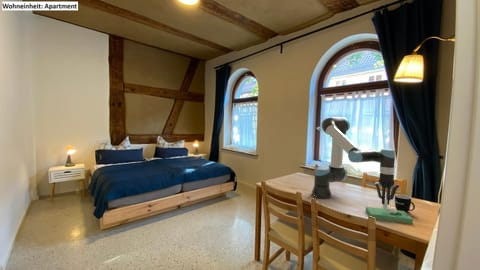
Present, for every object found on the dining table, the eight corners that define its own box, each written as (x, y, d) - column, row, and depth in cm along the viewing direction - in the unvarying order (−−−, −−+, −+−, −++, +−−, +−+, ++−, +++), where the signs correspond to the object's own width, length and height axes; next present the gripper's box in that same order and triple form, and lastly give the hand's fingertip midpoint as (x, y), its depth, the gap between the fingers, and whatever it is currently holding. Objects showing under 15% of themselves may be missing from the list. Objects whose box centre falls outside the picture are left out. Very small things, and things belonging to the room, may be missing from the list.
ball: (399, 213, 132) (391, 215, 133) (396, 211, 135) (390, 213, 137) (396, 207, 132) (389, 209, 134) (394, 205, 136) (387, 207, 137)
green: (370, 218, 134) (371, 214, 133) (365, 211, 145) (365, 206, 145) (412, 223, 127) (412, 219, 127) (403, 215, 138) (404, 211, 138)
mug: (390, 209, 148) (391, 195, 148) (399, 207, 151) (400, 193, 151) (409, 216, 137) (410, 201, 136) (418, 214, 140) (419, 199, 139)
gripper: (376, 173, 133) (375, 210, 134) (401, 175, 129) (399, 213, 130) (373, 171, 140) (371, 205, 141) (396, 172, 136) (394, 208, 137)
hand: (385, 209), depth 136 cm, fingers closed
